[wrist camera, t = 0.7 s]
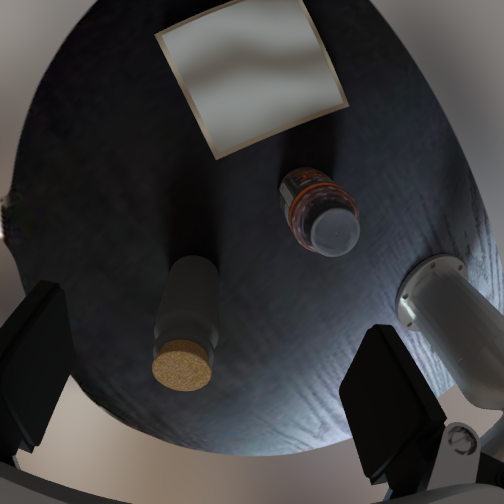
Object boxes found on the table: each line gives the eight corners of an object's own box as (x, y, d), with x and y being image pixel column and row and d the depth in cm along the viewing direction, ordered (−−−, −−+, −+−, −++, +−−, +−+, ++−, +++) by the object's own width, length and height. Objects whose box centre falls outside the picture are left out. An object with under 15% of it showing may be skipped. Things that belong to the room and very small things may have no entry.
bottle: (193, 244, 35) (177, 333, 22) (230, 278, 37) (234, 374, 24) (159, 275, 37) (130, 369, 23) (194, 306, 39) (184, 404, 25)
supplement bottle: (330, 163, 33) (375, 192, 22) (330, 216, 35) (371, 264, 25) (274, 167, 32) (297, 198, 22) (277, 221, 35) (299, 273, 25)
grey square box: (335, 105, 30) (350, 106, 26) (217, 153, 31) (215, 160, 27) (284, -5, 24) (293, -19, 20) (163, 42, 26) (153, 33, 22)
